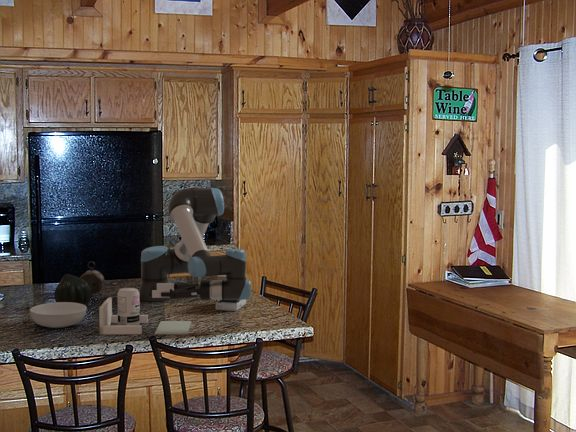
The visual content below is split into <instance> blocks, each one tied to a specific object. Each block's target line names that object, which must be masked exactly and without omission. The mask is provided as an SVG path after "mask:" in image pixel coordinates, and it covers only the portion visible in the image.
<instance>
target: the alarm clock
mask: <svg viewBox="0 0 576 432" xmlns="http://www.w3.org/2000/svg"><path fill="white" fill-rule="evenodd" d="M90 263H91V261H89V262H88V263H87V267H88V268H89V270H87V271H85V272H84V273H83V274H81V276H80V277H79V278H81V279H83V280H84V281H86V282H87V284H88V285H89V287H90V289H91V296H94V295H97V294H98V295H100V297H102V296H103V295H102V293H101V291H102V290H103V289H104V288H105V283H106V282H105V281H106V280H105V277H104V275H103V274H102V273H101V271H98V270H96V269H94V268H95V266H96V263H95V262H94V261H92V263H93V265H94V267H90V266H89V264H90Z"/></svg>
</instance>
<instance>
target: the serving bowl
mask: <svg viewBox="0 0 576 432" xmlns="http://www.w3.org/2000/svg"><path fill="white" fill-rule="evenodd" d="M87 309H88V307H87V306H86V305H83V304H79V303H72V302H56V301H55V302H49V303H41V304H37V305H35V306H32V307H31V308H30V309H29V314H30V317H31V319H32V320H33V321H34V323H36V324H37V325H39V326H42V327H46V328H50V329H62V328H67V327H71V326H74V325H77V324H78V323H80V322H81V321H83V319H84V318H85V316H86V314H87Z"/></svg>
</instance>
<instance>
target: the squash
mask: <svg viewBox="0 0 576 432" xmlns="http://www.w3.org/2000/svg"><path fill="white" fill-rule="evenodd" d="M53 296H54V300H55V302H72V303H79V304H83V305H85V306H86V305H88V304H89V303H90V301H91V300H92V295H91V289H90V287H89V285H88V284H87V282H86V281H84V280H83V279H81V278H80V277H78V276H76V275H73V274H68V273H65V274H64V275H63V276H62V278H61V280H60V281H59V283H58V284H57V286H56V288H55V290H54V295H53Z"/></svg>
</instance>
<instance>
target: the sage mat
mask: <svg viewBox="0 0 576 432" xmlns="http://www.w3.org/2000/svg"><path fill="white" fill-rule="evenodd" d="M191 324H192V320H177V321H176V320H161V321H160V322H159V324H158V326H157V328H156V330H155V332H154V335H188V333H189V330H190V327H191Z"/></svg>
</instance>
